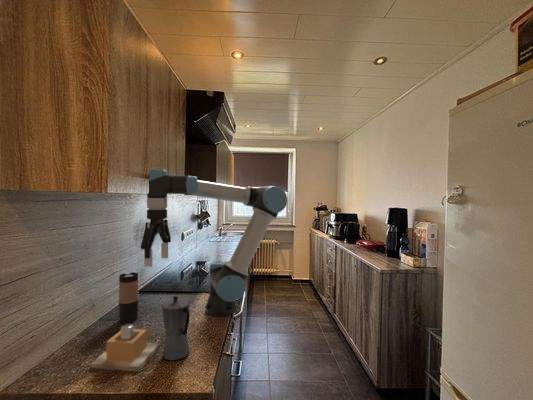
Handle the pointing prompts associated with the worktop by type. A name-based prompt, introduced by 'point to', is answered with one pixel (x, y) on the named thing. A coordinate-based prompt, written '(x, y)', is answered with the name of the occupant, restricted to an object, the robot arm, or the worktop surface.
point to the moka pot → (176, 329)
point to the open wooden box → (126, 346)
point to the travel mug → (128, 297)
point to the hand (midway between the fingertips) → (157, 262)
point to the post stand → (135, 366)
